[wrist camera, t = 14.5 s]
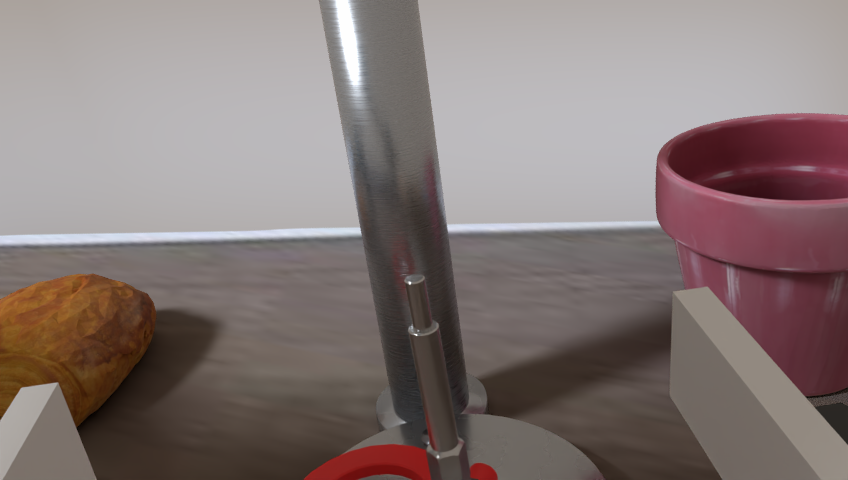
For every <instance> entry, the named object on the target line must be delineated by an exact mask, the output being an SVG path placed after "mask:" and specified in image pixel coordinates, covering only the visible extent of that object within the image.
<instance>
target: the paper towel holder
mask: <svg viewBox="0 0 848 480" xmlns="http://www.w3.org/2000/svg"><path fill="white" fill-rule="evenodd" d="M319 3H320V9H321V14H322V19H323V25H324V31H325V36H326V41H327V47H328V53H329V58H330V63H331V69H332V74H333V80H334V85H335V91H336V96H337V102H338V107H339V113H340V118H341V124H342V129H343V135H344V140H345V146H346V151H347V156H348V162H349V167H350V173H351V178H352V184H353V189H354V195H355V200H356V205H357V211H358V217H359V222H360V228H361V233H362V239H363V244H364V250H365V255H366V261H367V266H368V272H369V277H370V282H371V288H372V293H373V299H374V304H375V310H376V315H377V321H378V326H379V332H380V337H381V343H382V348H383V354H384V359H385V365H386V370H387V376H388V381H389V386H387V387H386V388H385V389H384V391H383V392H382V393H381V395H380V396H379V398H378V400H377V404H376V413H377V418H378V424H379V429H380V433H377V434H375V435H373V436H371V437H369V438H367V439H365V440H363V441H362V442H360V443H358V444H357V445H355V446H354V447H352V448H350V449H349V450H347V451H346V452H345V453H347V452H349V451H352V450H356V449H360V448H364V447H368V446H374V445H386V444H398V445H408V446H415V447H418V448H421V449H424V450H426V448H427V446H428V444H429V442H430V440H429V435H428V430H427V425H426V420H425V415H424V409H423V404H422V399H421V394H420V389H419V384H418V379H417V373H416V368H415V363H414V358H413V353H412V348H411V342H410V337H409V332H408V328H409V327H410V326H411V325H412V319H411V314H410V308H409V303H408V298H407V293H406V287H405V282H404V280H405V279H406V277H408V276H409V275H412V274H421V275H423V276H424V277H425V281H426V287H427V293H428V298H429V304H430V309H431V315H432V320H434V321H436V322H437V323H438V324H439V329H440V335H441V341H442V346H443V352H444V358H445V363H446V369H447V375H448V381H449V386H450V392H451V398H452V403H453V409H454V415H455V421H456V426H457V432H458V437H460V438H461V439H463V440H464V442H465V444H466V450H467V455H468V461H469V467H471V466H472V465H473V464H475V463H484V464H487V465H489V466H490V467H492V468H493V469H494V470H495V472H496V473H497V476H498V480H606V479H605V478H604V476H603V475H602V474H601V472H600V471H599V470H598V468H597V467H596V466H595V464H594V463H593V462H592V461H591V460H590V459H589V458H588V457H587V456H586V455H585V454H584V453H582V452H581V451H580V450H579V449H577V448H576V447H575V446H573V445H572V444H571V443H570V442H568V441H566V440H564V439H563V438H561V437H559V436H558V435H556V434H554V433H552V432H550V431H548V430H545V429H543V428H541V427H539V426H536V425H533V424H530V423H527V422H524V421H520V420H516V419H512V418H507V417H501V416H494V415H489V411H488V402H487V394H486V390H485V388H484V386H483V384H482V383H481V382H480V381H479V380H478V379H477V378H475V377H474V376H472V375H470V374H468V373H466V368H465V360H464V353H463V345H462V337H461V330H460V322H459V314H458V307H457V299H456V291H455V284H454V276H453V268H452V261H451V253H450V245H449V238H448V230H447V222H446V215H445V208H444V199H443V192H442V184H441V176H440V168H439V161H438V153H437V146H436V138H435V130H434V122H433V115H432V107H431V99H430V92H429V84H428V77H427V69H426V61H425V54H424V47H423V38H422V31H421V23H420V15H419V8H418V0H319ZM343 454H344V453H343ZM358 480H412V479H409V478H406V477H404V476H399V475H391V474H384V475H373V476H369V477H365V478H361V479H358Z"/></svg>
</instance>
